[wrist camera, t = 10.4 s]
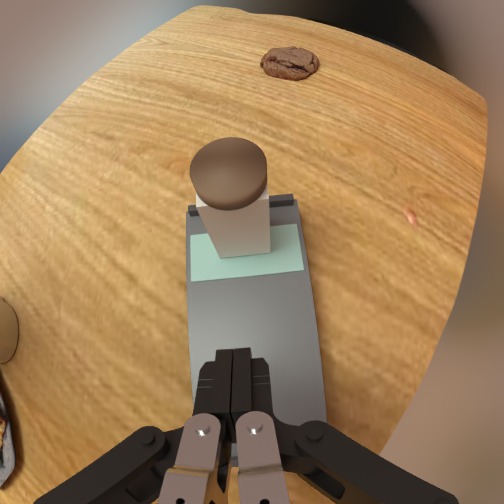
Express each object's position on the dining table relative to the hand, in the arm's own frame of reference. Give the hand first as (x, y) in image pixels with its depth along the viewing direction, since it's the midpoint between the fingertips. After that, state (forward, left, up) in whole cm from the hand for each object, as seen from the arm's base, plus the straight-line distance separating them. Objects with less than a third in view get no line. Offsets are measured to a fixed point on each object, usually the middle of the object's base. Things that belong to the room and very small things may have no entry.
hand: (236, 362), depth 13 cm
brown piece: (-10, +7, -14) cm, 19 cm away
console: (-3, +2, -17) cm, 18 cm away
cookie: (-32, +36, -18) cm, 51 cm away
